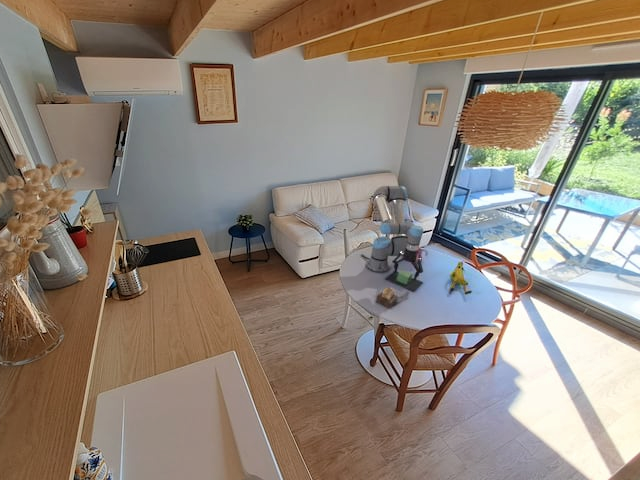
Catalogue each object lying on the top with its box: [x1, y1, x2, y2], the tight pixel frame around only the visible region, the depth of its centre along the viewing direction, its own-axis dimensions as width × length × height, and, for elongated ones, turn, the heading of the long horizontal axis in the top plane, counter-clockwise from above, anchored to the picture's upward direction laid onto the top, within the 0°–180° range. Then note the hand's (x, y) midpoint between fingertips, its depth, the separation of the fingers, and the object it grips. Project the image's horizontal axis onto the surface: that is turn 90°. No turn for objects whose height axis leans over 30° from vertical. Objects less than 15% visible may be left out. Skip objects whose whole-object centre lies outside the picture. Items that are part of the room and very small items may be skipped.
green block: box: [397, 269, 414, 285], centre depth 195 cm, size 7×7×6 cm
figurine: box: [449, 261, 472, 295], centre depth 192 cm, size 11×11×30 cm
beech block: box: [381, 286, 395, 300], centre depth 174 cm, size 5×5×4 cm
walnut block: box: [375, 291, 398, 309], centre depth 177 cm, size 9×9×4 cm
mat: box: [384, 271, 423, 292], centre depth 196 cm, size 20×14×1 cm
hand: (404, 276), depth 194 cm, fingers open, 13 cm apart
